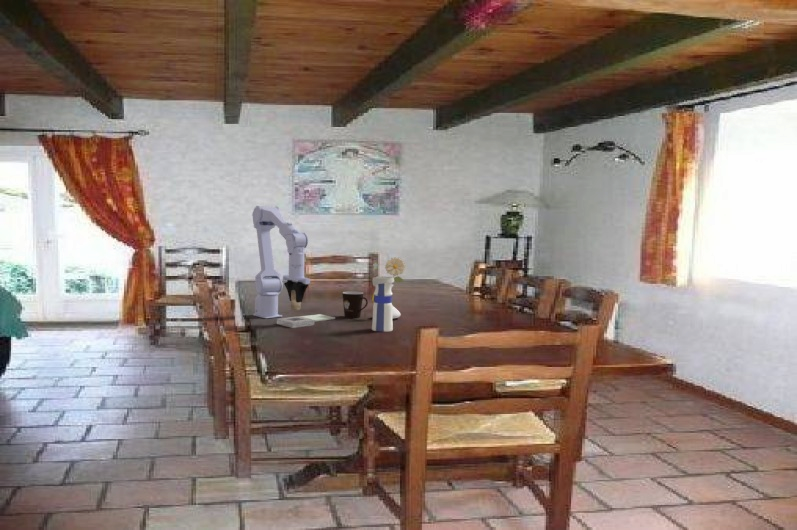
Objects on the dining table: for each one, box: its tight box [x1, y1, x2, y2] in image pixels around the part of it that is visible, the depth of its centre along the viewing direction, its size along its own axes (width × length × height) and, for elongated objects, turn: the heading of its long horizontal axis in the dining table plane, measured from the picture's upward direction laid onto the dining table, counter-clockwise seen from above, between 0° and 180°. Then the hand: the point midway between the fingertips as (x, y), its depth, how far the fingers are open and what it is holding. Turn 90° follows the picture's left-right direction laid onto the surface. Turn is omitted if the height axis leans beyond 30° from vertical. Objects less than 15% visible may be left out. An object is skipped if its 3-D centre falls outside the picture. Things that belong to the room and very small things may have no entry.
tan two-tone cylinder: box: [290, 290, 302, 311], centre depth 240 cm, size 4×4×7 cm
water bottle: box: [371, 261, 395, 332], centre depth 234 cm, size 8×9×25 cm
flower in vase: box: [384, 257, 406, 320], centre depth 259 cm, size 13×11×25 cm
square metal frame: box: [276, 315, 316, 329], centre depth 241 cm, size 10×10×2 cm
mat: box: [299, 313, 336, 322], centre depth 255 cm, size 10×10×1 cm
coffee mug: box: [342, 291, 369, 319], centre depth 259 cm, size 12×9×10 cm
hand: (295, 301), depth 240 cm, fingers closed on tan two-tone cylinder, 4 cm apart
